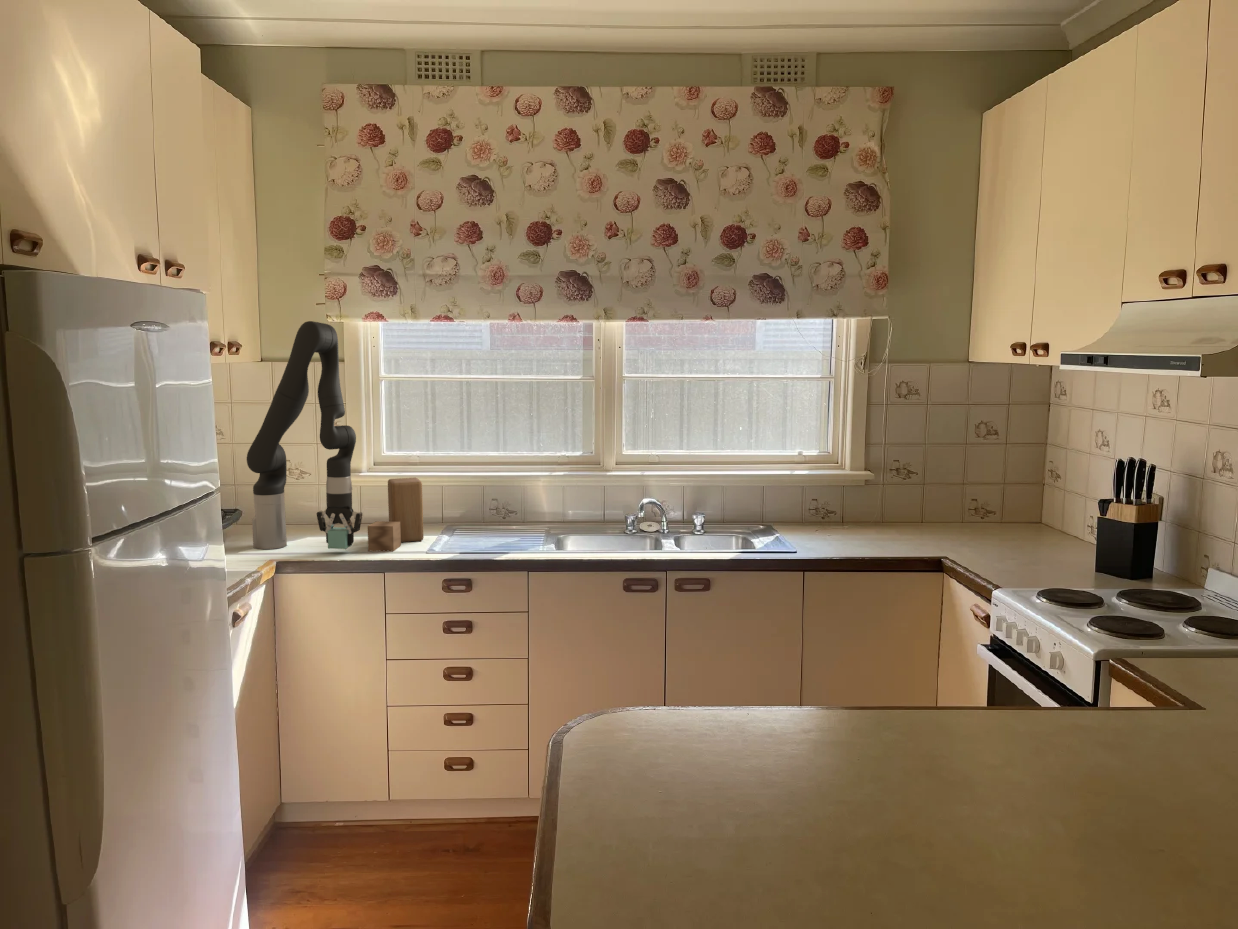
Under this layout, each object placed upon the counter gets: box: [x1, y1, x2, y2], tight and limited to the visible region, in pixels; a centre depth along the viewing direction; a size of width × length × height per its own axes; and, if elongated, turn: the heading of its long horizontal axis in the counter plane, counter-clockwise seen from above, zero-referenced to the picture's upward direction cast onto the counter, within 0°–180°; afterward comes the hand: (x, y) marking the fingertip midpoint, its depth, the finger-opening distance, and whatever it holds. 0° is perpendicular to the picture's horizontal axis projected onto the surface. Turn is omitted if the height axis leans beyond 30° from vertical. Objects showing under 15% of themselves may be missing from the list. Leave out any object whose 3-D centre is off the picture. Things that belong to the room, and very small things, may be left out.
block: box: [387, 477, 425, 543], centre depth 304 cm, size 10×10×20 cm
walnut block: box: [367, 520, 402, 552], centre depth 291 cm, size 8×8×8 cm
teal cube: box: [327, 526, 351, 550], centre depth 284 cm, size 6×6×6 cm
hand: (340, 544), depth 284 cm, fingers closed on teal cube, 5 cm apart
